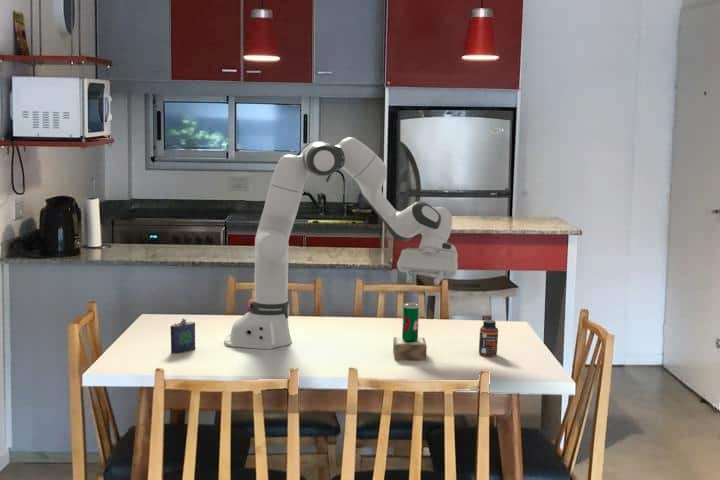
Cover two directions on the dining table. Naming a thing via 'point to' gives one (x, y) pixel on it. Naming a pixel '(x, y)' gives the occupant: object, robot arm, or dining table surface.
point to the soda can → (410, 322)
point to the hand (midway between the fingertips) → (422, 282)
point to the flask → (182, 337)
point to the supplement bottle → (488, 338)
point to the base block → (409, 349)
